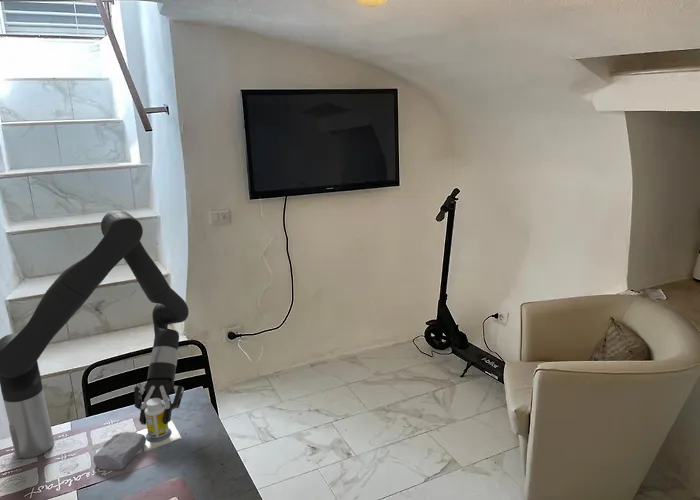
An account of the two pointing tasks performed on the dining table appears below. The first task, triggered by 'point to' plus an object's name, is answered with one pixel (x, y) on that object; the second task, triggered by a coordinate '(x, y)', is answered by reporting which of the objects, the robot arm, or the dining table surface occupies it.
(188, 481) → the dining table surface
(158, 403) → the supplement bottle
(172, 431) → the cream square pad
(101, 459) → the stone block
